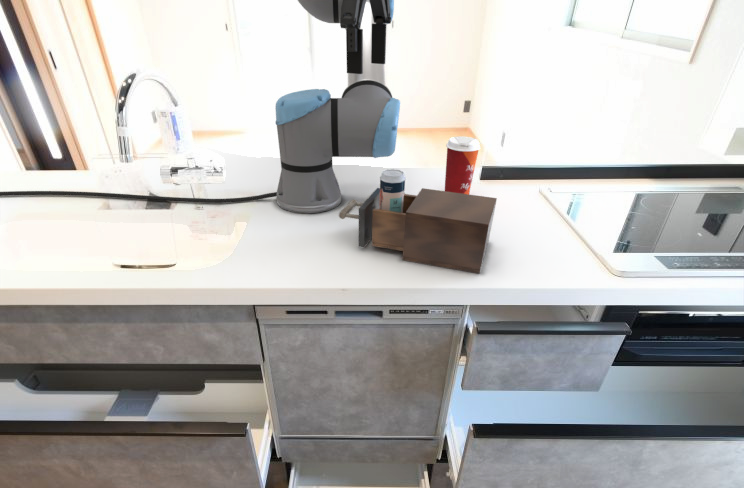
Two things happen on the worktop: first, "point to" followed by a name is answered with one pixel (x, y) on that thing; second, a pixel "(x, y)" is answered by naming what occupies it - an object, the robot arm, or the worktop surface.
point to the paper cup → (460, 163)
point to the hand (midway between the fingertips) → (367, 68)
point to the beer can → (392, 190)
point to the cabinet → (448, 229)
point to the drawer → (379, 222)
